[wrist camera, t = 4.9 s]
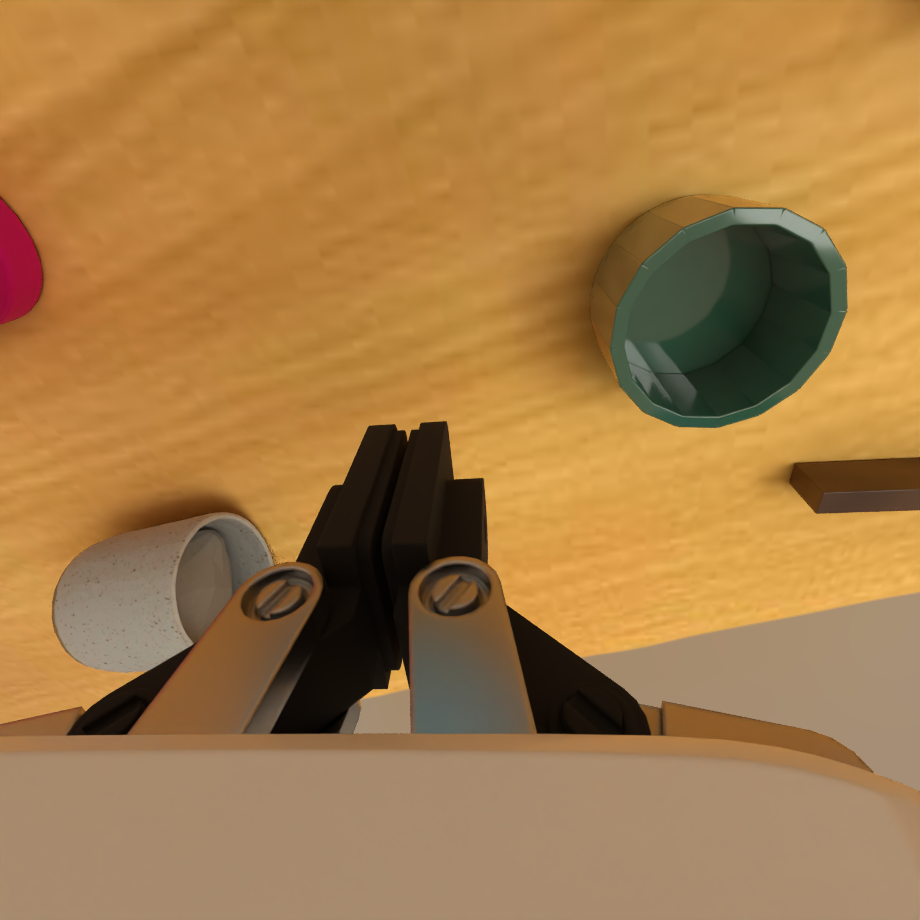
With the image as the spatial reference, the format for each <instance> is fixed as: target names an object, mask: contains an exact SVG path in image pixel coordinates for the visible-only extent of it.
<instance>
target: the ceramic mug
mask: <svg viewBox="0 0 920 920" xmlns="http://www.w3.org/2000/svg"><path fill="white" fill-rule="evenodd" d="M273 565H274V563H273V560H272V556H271V553H270V550H269V548H268V546H267V544H266V542H265V540H264V538H263V537H262V535H261V534H260V532H259V531H258V530H257V529H256V527H255V526H254V525H253V524H252V523H251V522H249V521H248V520H247V519H245V518H243V517H241V516H239V515H237V514H234V513H229V512H215V513H210V514H205V515H201V516H197V517H193V518H189V519H185V520H181V521H176V522H171V523H166V524H162V525H158V526H154V527H150V528H146V529H140V530H135V531H130V532H125V533H122V534H119V535H115V536H112V537H109V538H107V539H105V540H103V541H100V542H98V543H96V544H94V545H92V546H90V547H88V548H87V549H85V550H84V551H83V552H81V553H80V554H79V555H78V556H77V557H75V558H74V559H73V560H72V561H71V563H70V564H69V565H68V566H67V568H66V569H65V570H64V572H63V574H62V575H61V577H60V579H59V581H58V584H57V586H56V588H55V592H54V596H53V601H52V622H53V627H54V631H55V633H56V635H57V637H58V639H59V641H60V643H61V645H62V647H63V648H64V650H65V651H66V652H67V653H68V654H69V655H70V656H71V657H73V658H74V659H75V660H76V661H78V662H80V663H81V664H83V665H85V666H88V667H92V668H95V669H99V670H105V671H113V672H124V673H127V672H140V671H149V670H151V669H152V668H154V667H156V666H157V665H159V664H161V663H162V662H164V661H166V660H168V659H169V658H171V657H173V656H174V655H176V654H178V653H179V652H181V651H183V650H185V649H186V648H188V647H190V646H191V645H193V644H195V643H197V642H198V641H199V639H200V638H201V637H202V635H203V634H204V633H205V631H206V630H207V629H208V628H209V626H210V625H211V624H212V622H213V621H214V620H215V618H216V617H217V616H218V614H219V613H220V612H221V610H222V609H223V608H224V607H225V605H226V604H227V603H228V601H229V600H230V599H231V597H232V596H233V595H234V593H235V592H236V591H237V590H238V588H239V587H240V586H241V585H242V584H243V583H244V582H245V581H246V580H247V579H249V578H250V577H252V576H253V575H255V574H256V573H258V572H259V571H261V570H264V569H266V568H268V567H270V566H273Z"/></svg>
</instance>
